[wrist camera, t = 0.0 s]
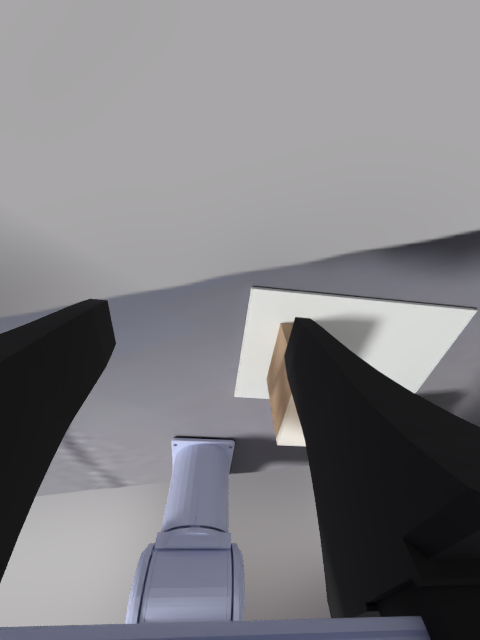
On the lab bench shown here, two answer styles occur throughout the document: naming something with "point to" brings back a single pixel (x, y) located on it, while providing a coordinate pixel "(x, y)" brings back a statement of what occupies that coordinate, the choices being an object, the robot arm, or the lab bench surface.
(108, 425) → the lab bench surface
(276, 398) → the slab
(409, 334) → the mat
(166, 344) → the lab bench surface
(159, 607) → the robot arm
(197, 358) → the lab bench surface
